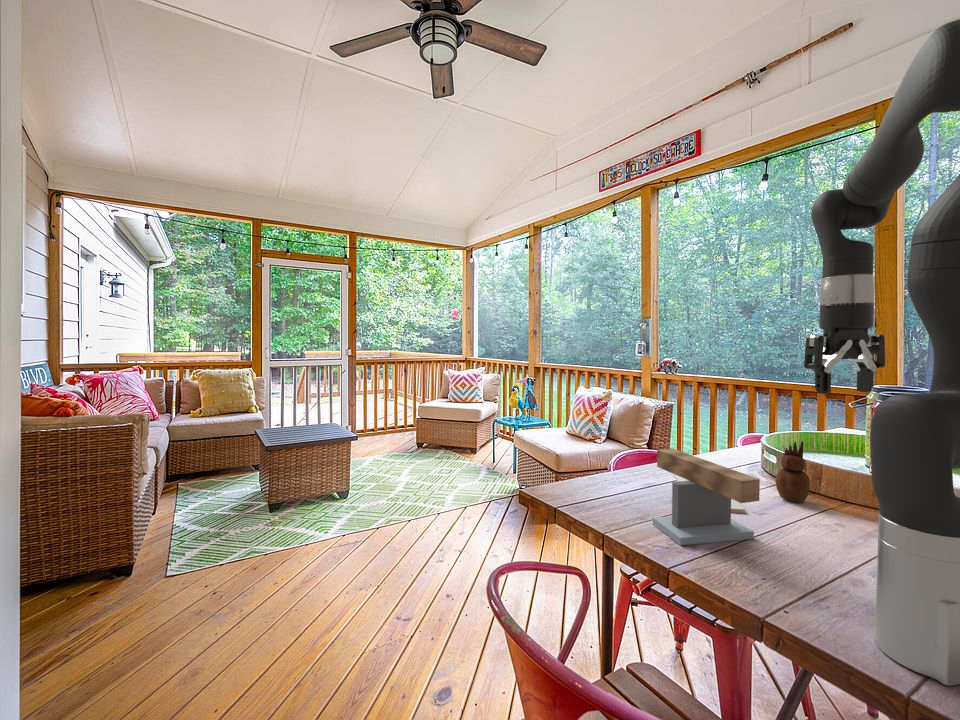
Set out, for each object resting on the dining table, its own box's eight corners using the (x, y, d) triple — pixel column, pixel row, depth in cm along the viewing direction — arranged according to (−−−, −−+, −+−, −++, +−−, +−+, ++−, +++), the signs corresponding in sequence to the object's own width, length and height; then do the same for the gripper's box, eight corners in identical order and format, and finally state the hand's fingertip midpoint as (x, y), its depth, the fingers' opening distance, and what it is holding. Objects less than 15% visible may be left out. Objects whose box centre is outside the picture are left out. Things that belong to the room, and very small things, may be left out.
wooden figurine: (814, 503, 108) (816, 441, 107) (798, 506, 106) (799, 443, 105) (786, 494, 114) (787, 436, 114) (770, 497, 112) (771, 438, 112)
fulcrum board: (753, 538, 90) (754, 487, 89) (680, 545, 87) (680, 492, 87) (719, 518, 99) (720, 472, 99) (652, 524, 97) (653, 476, 97)
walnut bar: (657, 466, 104) (657, 449, 104) (671, 465, 105) (672, 448, 105) (741, 503, 81) (741, 481, 80) (759, 500, 82) (759, 479, 81)
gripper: (859, 304, 85) (857, 389, 86) (793, 304, 83) (791, 391, 83) (902, 300, 77) (899, 394, 78) (831, 300, 75) (828, 396, 76)
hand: (843, 392), depth 81 cm, fingers open, 8 cm apart
